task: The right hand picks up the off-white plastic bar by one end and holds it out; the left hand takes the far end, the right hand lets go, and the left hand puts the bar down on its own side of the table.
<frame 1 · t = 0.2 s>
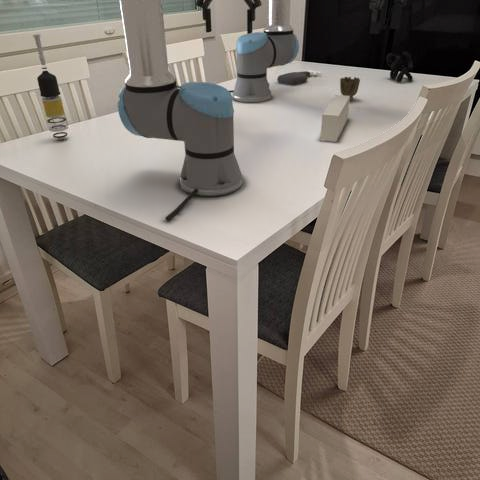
left hand: (229, 32, 138), 28 cm above the table, tool pointing down, fingers open, 13 cm apart
right hand: (384, 31, 139), 27 cm above the table, tool pointing down, fingers open, 13 cm apart
cup: (347, 100, 173), on the table
bar: (334, 129, 144), on the table
squiggle: (399, 80, 200), on the table
bracket: (156, 116, 160), on the table
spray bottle: (300, 79, 205), on the table
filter: (61, 139, 140), on the table
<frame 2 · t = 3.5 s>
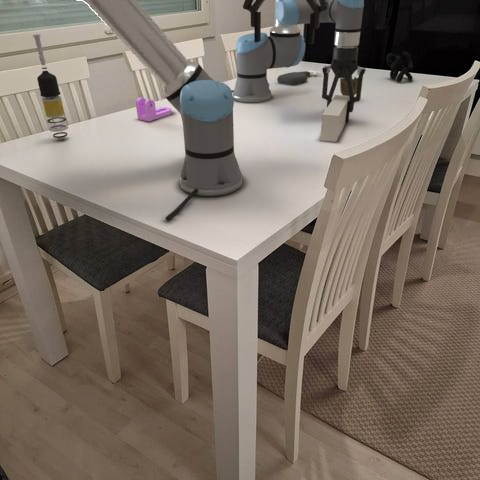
left hand: (283, 42, 109), 30 cm above the table, tool pointing down, fingers open, 13 cm apart
right hand: (338, 120, 150), 1 cm above the table, tool pointing down, fingers closed on bar, 5 cm apart
bar: (334, 129, 144), on the table, touching right hand
everything else where it was.
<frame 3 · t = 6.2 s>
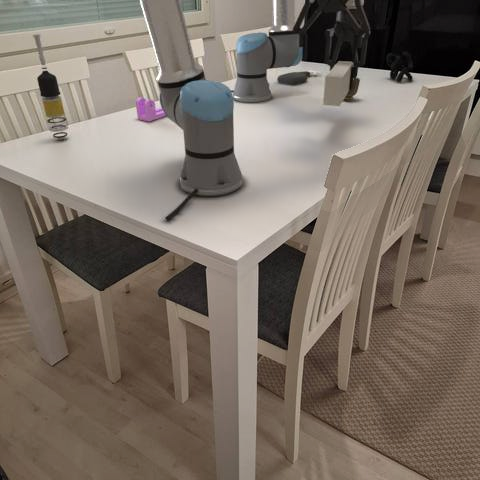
left hand: (328, 60, 123), 23 cm above the table, tool pointing down, fingers open, 13 cm apart
right hand: (341, 87, 144), 11 cm above the table, tool pointing down, fingers closed on bar, 5 cm apart
bar: (337, 95, 138), point 11 cm above the table, touching right hand
everything else where it was.
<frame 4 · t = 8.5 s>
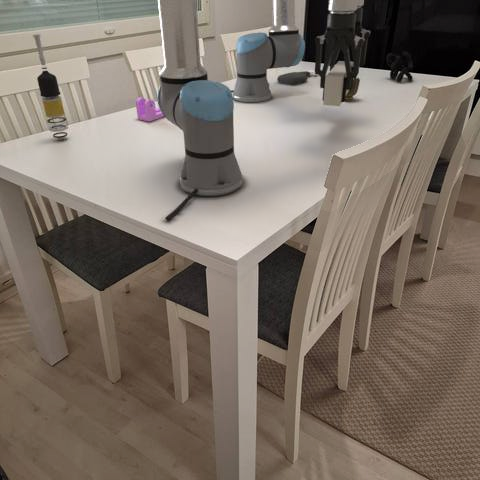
left hand: (333, 99, 132), 11 cm above the table, tool pointing down, fingers closed on bar, 5 cm apart
right hand: (341, 87, 144), 11 cm above the table, tool pointing down, fingers closed on bar, 5 cm apart
bar: (337, 95, 138), point 11 cm above the table, touching left hand, right hand
everything else where it was.
when the right hand's fingers open (11 cm above the table, at t = 9.1 s): bar stays where it is, held by the left hand.
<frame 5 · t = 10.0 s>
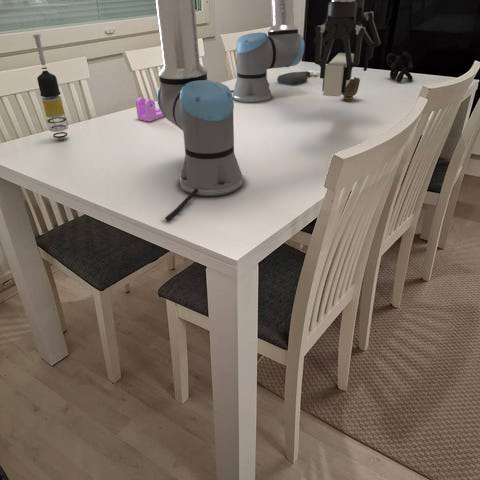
left hand: (333, 90, 130), 14 cm above the table, tool pointing down, fingers closed on bar, 5 cm apart
right hand: (343, 68, 143), 17 cm above the table, tool pointing down, fingers open, 13 cm apart
bar: (337, 87, 137), point 13 cm above the table, touching left hand
everything else where it was.
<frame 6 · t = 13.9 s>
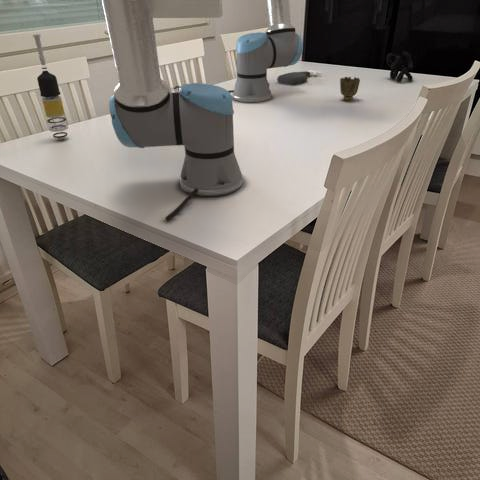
left hand: (149, 14, 120), 35 cm above the table, tool pointing down, fingers closed on bar, 5 cm apart
right hand: (351, 23, 139), 29 cm above the table, tool pointing down, fingers open, 13 cm apart
bar: (178, 16, 120), point 34 cm above the table, touching left hand
everything else where it was.
when the left hand's fingers open (2 cm above the table, at t = 19.6 s): bar drops 1 cm, on the table.
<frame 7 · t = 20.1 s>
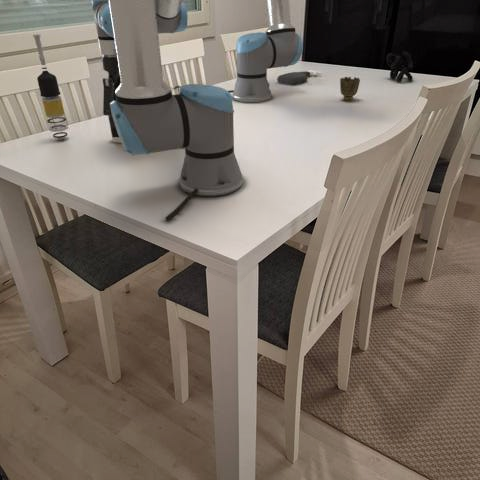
left hand: (126, 130, 137), 3 cm above the table, tool pointing down, fingers open, 12 cm apart
right hand: (351, 23, 139), 29 cm above the table, tool pointing down, fingers open, 13 cm apart
bar: (151, 142, 137), on the table
everything else where it was.
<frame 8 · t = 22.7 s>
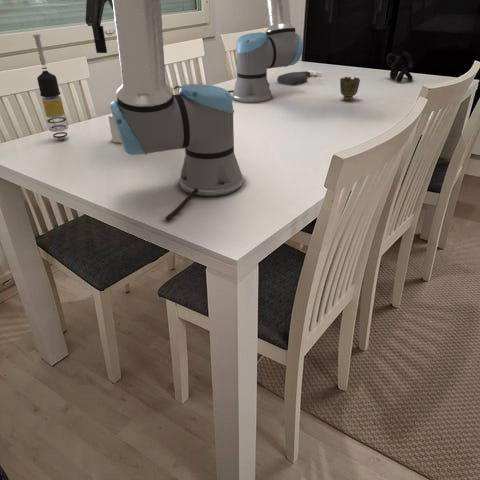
left hand: (113, 48, 124), 26 cm above the table, tool pointing down, fingers open, 13 cm apart
right hand: (351, 23, 139), 29 cm above the table, tool pointing down, fingers open, 13 cm apart
nothing on the table moved.
at the end: bar inside the target area (7.9 cm from its centre), on the table; the left hand is holding nothing; the right hand is holding nothing; bar at rest at the end (0.0 cm/s) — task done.
